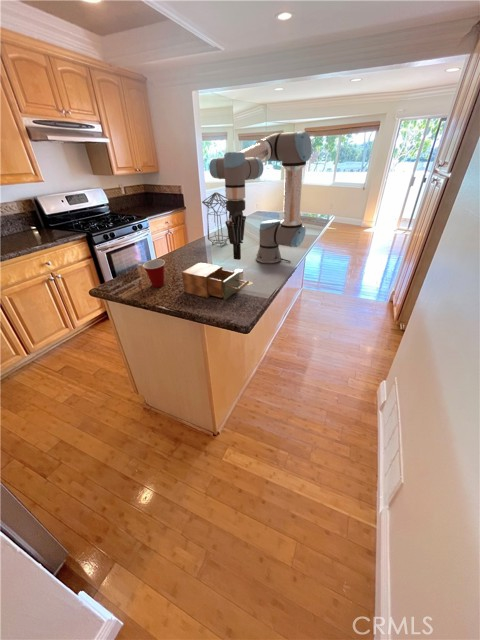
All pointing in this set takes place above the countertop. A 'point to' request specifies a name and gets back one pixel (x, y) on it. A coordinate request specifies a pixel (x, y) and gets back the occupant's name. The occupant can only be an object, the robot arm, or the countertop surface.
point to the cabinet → (198, 278)
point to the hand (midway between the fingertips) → (237, 258)
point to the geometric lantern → (217, 215)
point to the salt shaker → (240, 274)
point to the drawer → (224, 283)
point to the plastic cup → (155, 271)
